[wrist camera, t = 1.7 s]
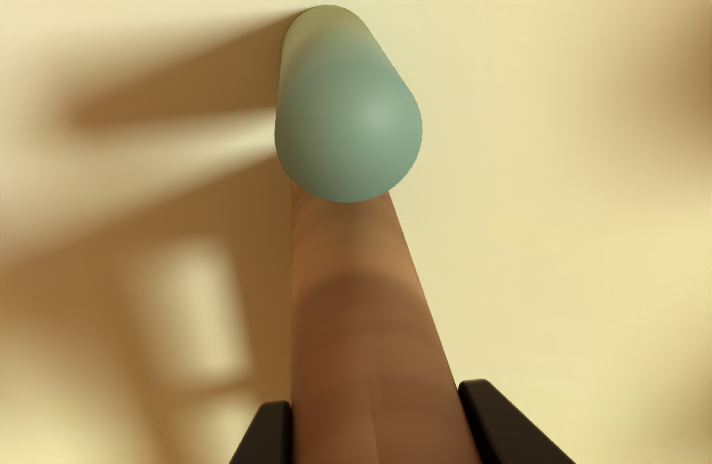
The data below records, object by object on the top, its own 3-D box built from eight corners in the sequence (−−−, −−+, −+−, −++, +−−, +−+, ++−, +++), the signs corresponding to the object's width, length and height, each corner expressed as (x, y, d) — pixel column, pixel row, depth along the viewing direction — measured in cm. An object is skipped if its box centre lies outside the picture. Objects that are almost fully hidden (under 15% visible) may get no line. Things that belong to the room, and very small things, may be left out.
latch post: (375, 97, 14) (420, 196, 9) (287, 103, 14) (284, 208, 9) (373, 2, 13) (424, 56, 8) (276, 7, 13) (265, 66, 8)
